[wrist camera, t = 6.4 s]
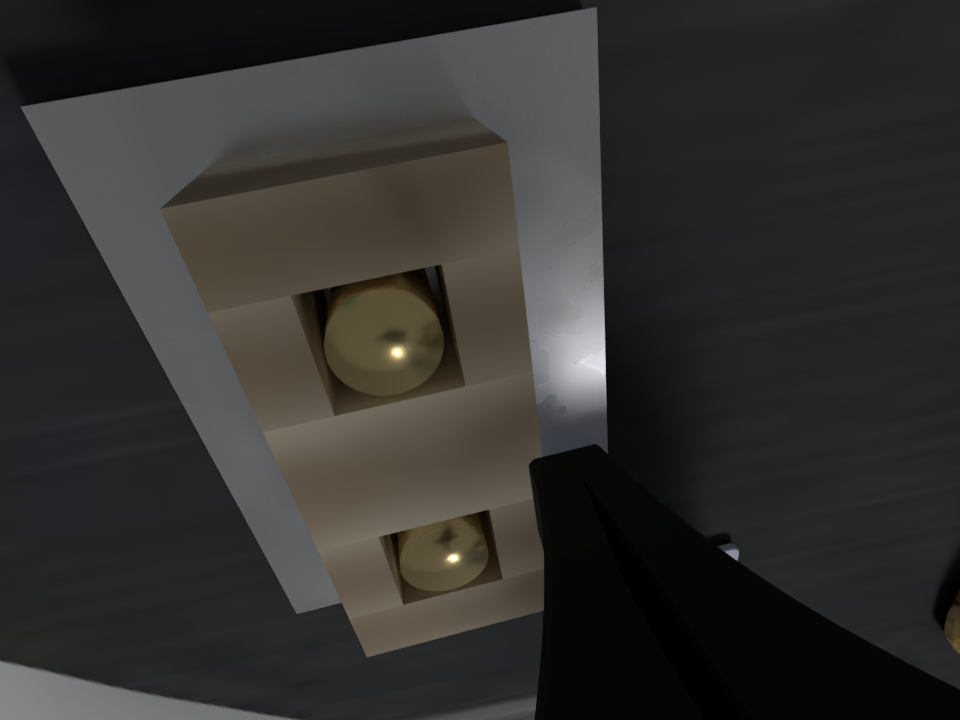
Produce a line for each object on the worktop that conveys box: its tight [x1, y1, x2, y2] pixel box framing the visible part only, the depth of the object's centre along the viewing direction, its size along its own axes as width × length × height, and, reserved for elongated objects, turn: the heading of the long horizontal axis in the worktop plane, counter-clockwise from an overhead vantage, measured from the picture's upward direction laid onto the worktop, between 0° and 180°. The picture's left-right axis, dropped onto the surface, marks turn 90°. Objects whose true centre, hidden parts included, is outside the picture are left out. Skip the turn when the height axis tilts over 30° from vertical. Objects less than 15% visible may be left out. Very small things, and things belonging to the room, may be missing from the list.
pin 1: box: [324, 268, 444, 396], centre depth 14 cm, size 3×3×4 cm
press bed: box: [21, 7, 608, 614], centre depth 19 cm, size 20×14×1 cm
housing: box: [160, 117, 544, 657], centre depth 17 cm, size 16×7×4 cm, turn 8°
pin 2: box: [398, 512, 488, 591], centre depth 19 cm, size 3×3×4 cm
